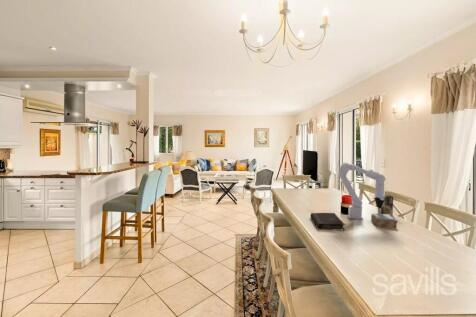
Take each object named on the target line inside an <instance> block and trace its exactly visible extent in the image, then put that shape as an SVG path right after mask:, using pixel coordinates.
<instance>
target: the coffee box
mask: <svg viewBox="0 0 476 317" xmlns="http://www.w3.org/2000/svg"><path fill="white" fill-rule="evenodd" d="M384 196H386V197H384V200H385V201H384V202H383V204H382V207H381V208H378V207H377V214H388V215H390V216H391V217H393V215H394V196H393V195H391V194H384Z"/></svg>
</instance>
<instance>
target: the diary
mask: <svg viewBox="0 0 476 317" xmlns="http://www.w3.org/2000/svg"><path fill="white" fill-rule="evenodd" d="M310 219H311V220H312V221H313V223H314V224H315V226H316V228H317V229H318V230H319V228H320V229H322V230H333V229H343V230H342V231H345V230H346V229H345V228H344V225H346V224H345V223H344V221H343V220H341V219H340V217H339V216H338V215H337V214H336V213H335V212H311V214H310Z"/></svg>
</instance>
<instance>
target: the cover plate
mask: <svg viewBox="0 0 476 317" xmlns="http://www.w3.org/2000/svg"><path fill="white" fill-rule="evenodd" d="M372 214H373V215H374V216H375V217H376V218H377V219H378V220H386V221H394V219H395V218H394V217H393V216H390V215H388V214H378V213H372Z"/></svg>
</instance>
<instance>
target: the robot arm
mask: <svg viewBox="0 0 476 317" xmlns="http://www.w3.org/2000/svg"><path fill="white" fill-rule="evenodd" d="M349 171H357V172H359V173H361V174H364V175H365V177H367V178H369V179H372V180H375V185H374V186H375V190H374V191H375V192H374V197H373V199H374V201H375V205H376V207H377V209H378V208H381V207H382V204H383V202H384V201H385V200H384V197H386V196H384V195H385V181H386V176H385V175H383V174H382V173H380V172H376V171H374V169H364V168H363V167H361V166H358V165H356V164H352V163H348V162H343V163H341V165H340V167H339V174H338V175H339V178H340V180H341V181H342V183H343V186H344V187H345V188H346V191H347V192H348V194H349V196H350V198H351V202H352V204H351V205H349V206H348V212H347V214H348V217H349V219H355V220H356V219H358V220H363V219H364V218H363V217H362V216H363V201H362V200H361V198H360V197H359V196H358V195H357V193H356V191H355V189H354V188H353V186H352V184H351V182H350V181H349V179H348V177H347V174H348V172H349Z"/></svg>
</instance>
